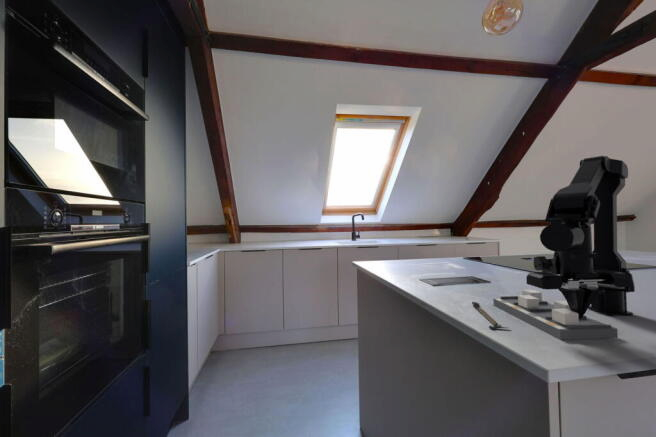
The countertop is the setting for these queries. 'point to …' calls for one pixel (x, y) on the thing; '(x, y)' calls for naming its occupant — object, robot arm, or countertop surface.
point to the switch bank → (544, 321)
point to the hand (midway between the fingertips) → (577, 318)
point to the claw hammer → (488, 318)
